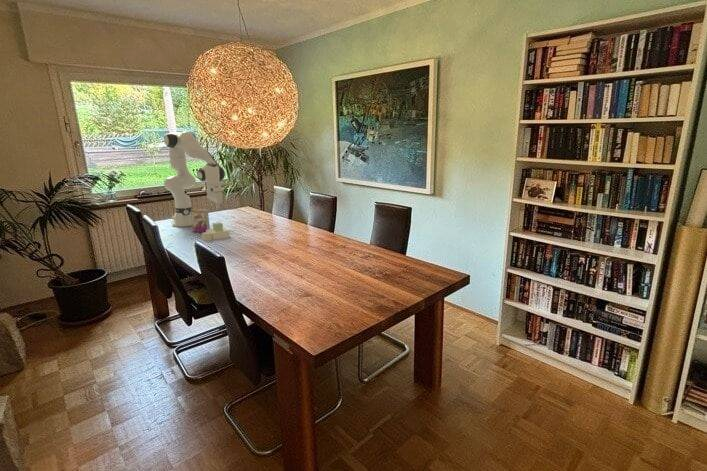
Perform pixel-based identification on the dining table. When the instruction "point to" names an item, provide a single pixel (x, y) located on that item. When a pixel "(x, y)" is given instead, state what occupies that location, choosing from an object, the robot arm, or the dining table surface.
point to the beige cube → (206, 236)
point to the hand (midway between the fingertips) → (215, 207)
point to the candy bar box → (200, 220)
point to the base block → (219, 233)
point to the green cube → (217, 226)
